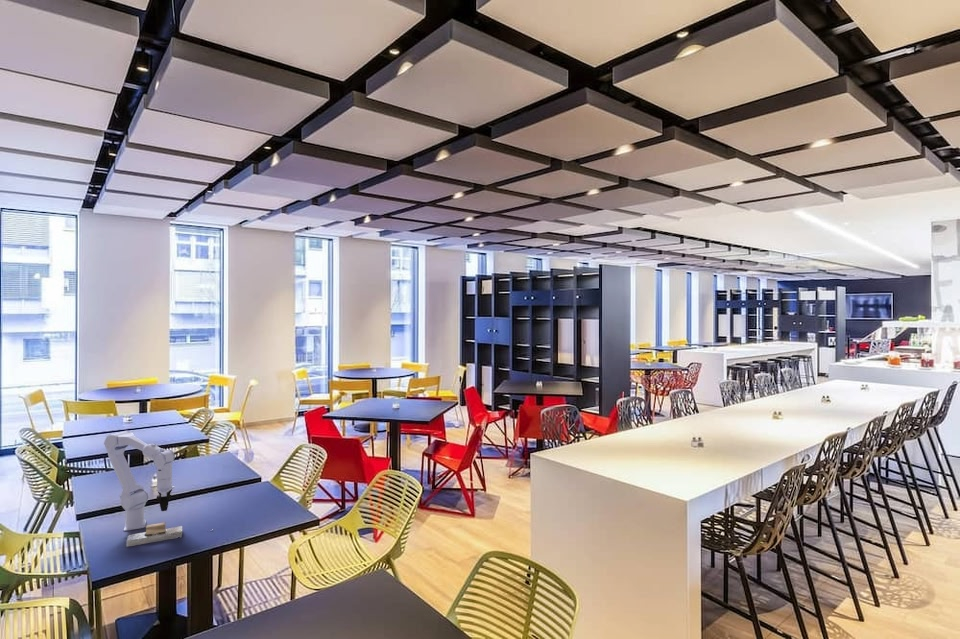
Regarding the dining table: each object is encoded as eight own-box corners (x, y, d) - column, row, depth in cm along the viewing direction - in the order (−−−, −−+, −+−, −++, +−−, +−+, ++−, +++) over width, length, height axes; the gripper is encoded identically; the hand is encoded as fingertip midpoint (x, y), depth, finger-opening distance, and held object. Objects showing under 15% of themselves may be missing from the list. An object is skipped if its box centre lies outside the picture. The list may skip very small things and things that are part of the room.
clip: (146, 539, 225) (146, 525, 225) (165, 536, 228) (165, 522, 228) (145, 541, 222) (145, 527, 222) (165, 538, 225) (165, 524, 225)
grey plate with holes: (128, 540, 223) (128, 535, 223) (182, 531, 233) (182, 525, 233) (126, 546, 217) (126, 540, 217) (181, 537, 227) (181, 531, 227)
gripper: (174, 480, 232) (174, 511, 232) (175, 472, 245) (175, 502, 244) (155, 483, 228) (155, 514, 228) (157, 475, 241) (157, 504, 241)
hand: (164, 508), depth 236 cm, fingers open, 7 cm apart
